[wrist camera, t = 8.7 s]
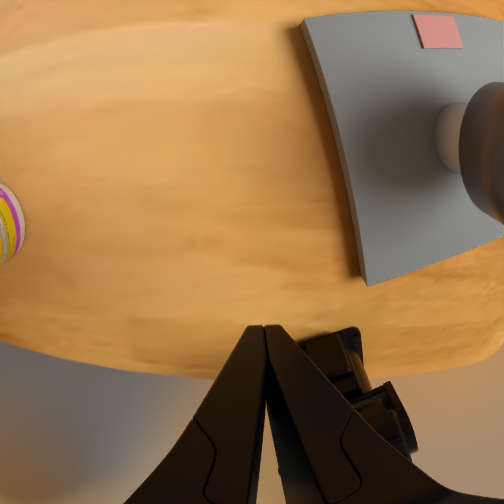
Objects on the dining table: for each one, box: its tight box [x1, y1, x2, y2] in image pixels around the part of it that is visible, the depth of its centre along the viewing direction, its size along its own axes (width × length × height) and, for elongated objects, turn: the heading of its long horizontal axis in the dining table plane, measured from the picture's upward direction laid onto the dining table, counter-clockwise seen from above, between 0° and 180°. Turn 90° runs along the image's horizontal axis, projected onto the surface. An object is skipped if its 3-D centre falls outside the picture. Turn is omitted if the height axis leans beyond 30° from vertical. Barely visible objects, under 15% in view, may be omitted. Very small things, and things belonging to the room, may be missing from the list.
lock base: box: [300, 11, 504, 287], centre depth 15 cm, size 18×18×6 cm
